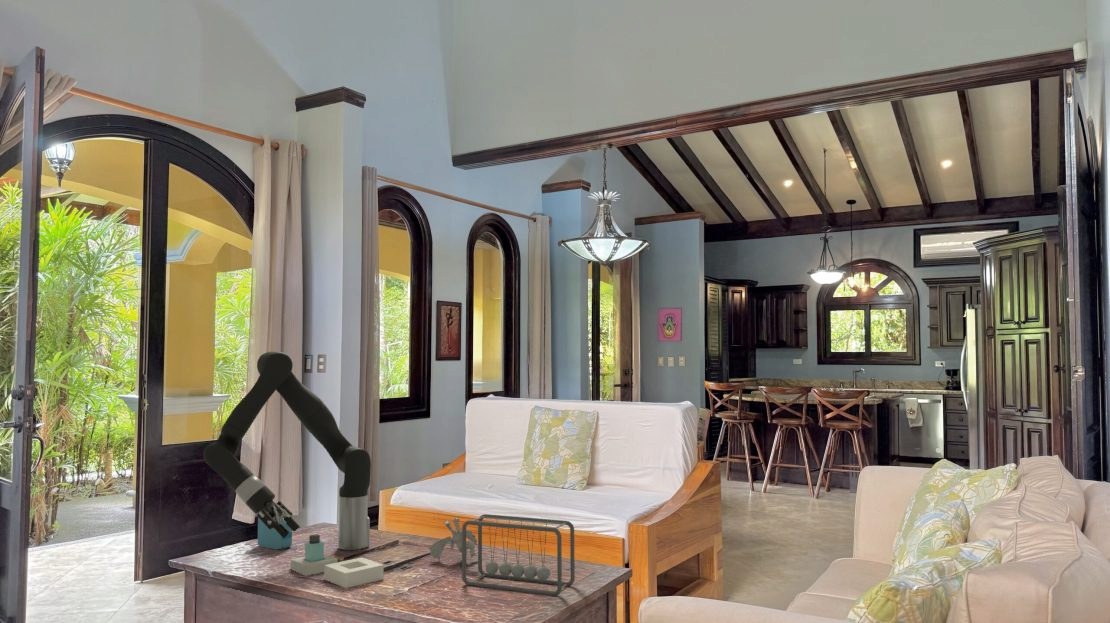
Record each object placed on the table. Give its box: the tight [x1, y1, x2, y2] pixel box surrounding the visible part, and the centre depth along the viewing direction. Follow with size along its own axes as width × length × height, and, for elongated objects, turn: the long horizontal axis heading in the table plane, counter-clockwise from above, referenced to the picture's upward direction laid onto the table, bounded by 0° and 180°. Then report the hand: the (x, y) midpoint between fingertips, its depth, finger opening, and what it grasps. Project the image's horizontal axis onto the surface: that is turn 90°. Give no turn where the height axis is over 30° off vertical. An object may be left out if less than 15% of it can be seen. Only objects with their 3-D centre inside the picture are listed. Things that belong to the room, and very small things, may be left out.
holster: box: [290, 553, 339, 577], centre depth 227 cm, size 10×10×3 cm
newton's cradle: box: [461, 513, 576, 597], centre depth 210 cm, size 30×10×18 cm, turn 67°
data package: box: [257, 516, 293, 550], centre depth 255 cm, size 12×4×12 cm, turn 60°
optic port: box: [323, 556, 385, 589], centre depth 216 cm, size 12×12×4 cm
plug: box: [304, 534, 325, 562], centre depth 227 cm, size 4×4×10 cm
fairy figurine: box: [428, 517, 478, 562], centre depth 234 cm, size 10×18×14 cm, turn 65°
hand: (292, 532), depth 227 cm, fingers open, 8 cm apart
